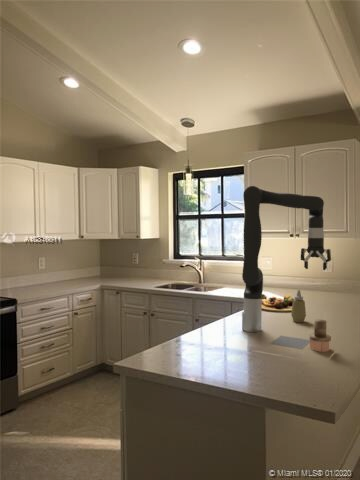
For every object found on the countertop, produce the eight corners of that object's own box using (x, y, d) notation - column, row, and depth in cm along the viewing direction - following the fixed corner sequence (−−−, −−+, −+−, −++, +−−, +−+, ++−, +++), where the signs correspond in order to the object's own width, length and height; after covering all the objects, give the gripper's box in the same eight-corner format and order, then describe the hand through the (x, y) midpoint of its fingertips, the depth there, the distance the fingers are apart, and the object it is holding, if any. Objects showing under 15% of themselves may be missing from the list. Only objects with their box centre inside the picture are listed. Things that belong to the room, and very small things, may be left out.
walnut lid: (307, 339, 177) (307, 321, 177) (312, 334, 185) (312, 317, 185) (328, 342, 173) (328, 324, 172) (333, 337, 180) (333, 320, 180)
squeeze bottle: (305, 320, 234) (306, 289, 233) (306, 323, 226) (306, 291, 225) (291, 319, 236) (291, 288, 235) (291, 322, 228) (291, 290, 227)
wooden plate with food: (243, 305, 277) (243, 293, 277) (280, 300, 291) (281, 289, 290) (272, 316, 248) (272, 302, 248) (312, 310, 262) (312, 298, 261)
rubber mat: (269, 345, 186) (269, 343, 186) (280, 336, 200) (280, 335, 200) (302, 350, 178) (302, 349, 178) (311, 341, 192) (311, 340, 192)
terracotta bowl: (308, 350, 178) (308, 339, 177) (313, 346, 184) (313, 335, 184) (327, 353, 173) (327, 342, 173) (331, 349, 180) (331, 337, 180)
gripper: (299, 237, 201) (298, 269, 202) (329, 237, 193) (328, 271, 194) (303, 236, 207) (303, 267, 208) (332, 237, 200) (332, 269, 200)
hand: (315, 269), depth 201 cm, fingers open, 8 cm apart
